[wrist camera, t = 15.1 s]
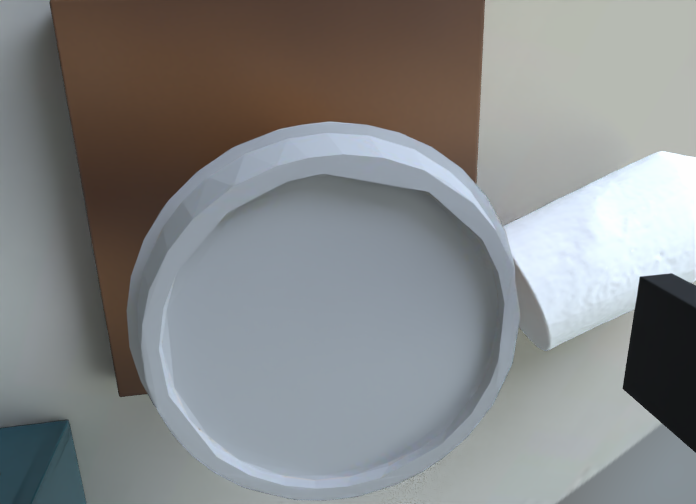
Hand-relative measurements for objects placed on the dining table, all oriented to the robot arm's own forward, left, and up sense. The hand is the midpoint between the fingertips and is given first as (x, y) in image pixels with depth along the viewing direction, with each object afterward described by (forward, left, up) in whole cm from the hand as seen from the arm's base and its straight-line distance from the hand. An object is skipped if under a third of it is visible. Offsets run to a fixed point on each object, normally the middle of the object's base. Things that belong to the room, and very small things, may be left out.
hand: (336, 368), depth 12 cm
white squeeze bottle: (+2, +15, -15) cm, 22 cm away
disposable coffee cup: (0, 0, -14) cm, 14 cm away
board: (0, 0, -15) cm, 15 cm away
